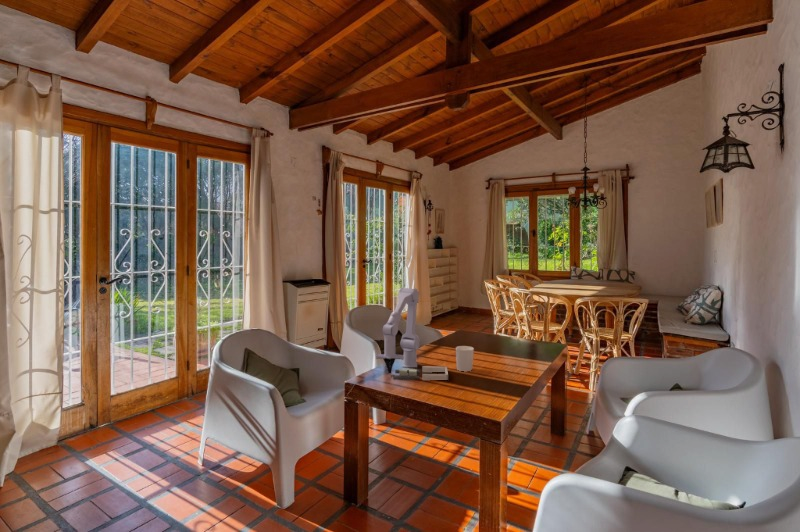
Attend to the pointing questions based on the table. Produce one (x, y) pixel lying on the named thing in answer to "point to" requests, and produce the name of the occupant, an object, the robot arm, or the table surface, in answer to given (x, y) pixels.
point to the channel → (406, 376)
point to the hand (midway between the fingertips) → (389, 372)
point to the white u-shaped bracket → (434, 376)
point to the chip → (412, 372)
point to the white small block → (403, 372)
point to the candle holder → (464, 358)
